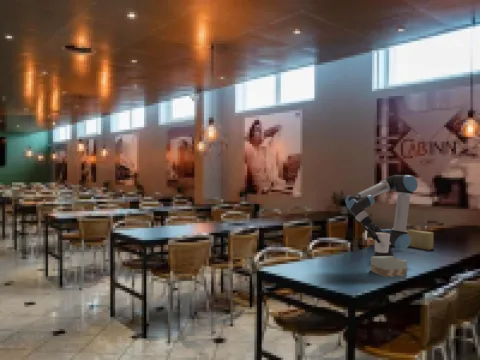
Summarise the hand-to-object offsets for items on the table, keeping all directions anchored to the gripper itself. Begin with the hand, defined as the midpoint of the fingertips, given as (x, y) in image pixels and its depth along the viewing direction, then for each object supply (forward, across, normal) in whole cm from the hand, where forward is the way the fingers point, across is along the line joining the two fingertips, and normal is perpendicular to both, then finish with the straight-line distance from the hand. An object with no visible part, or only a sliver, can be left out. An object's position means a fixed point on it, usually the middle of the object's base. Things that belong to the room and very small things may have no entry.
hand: (386, 245), depth 269 cm
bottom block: (+14, -1, -12) cm, 19 cm away
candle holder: (+1, 0, -6) cm, 6 cm away
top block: (+10, -1, -9) cm, 14 cm away
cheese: (+3, -117, -23) cm, 119 cm away
